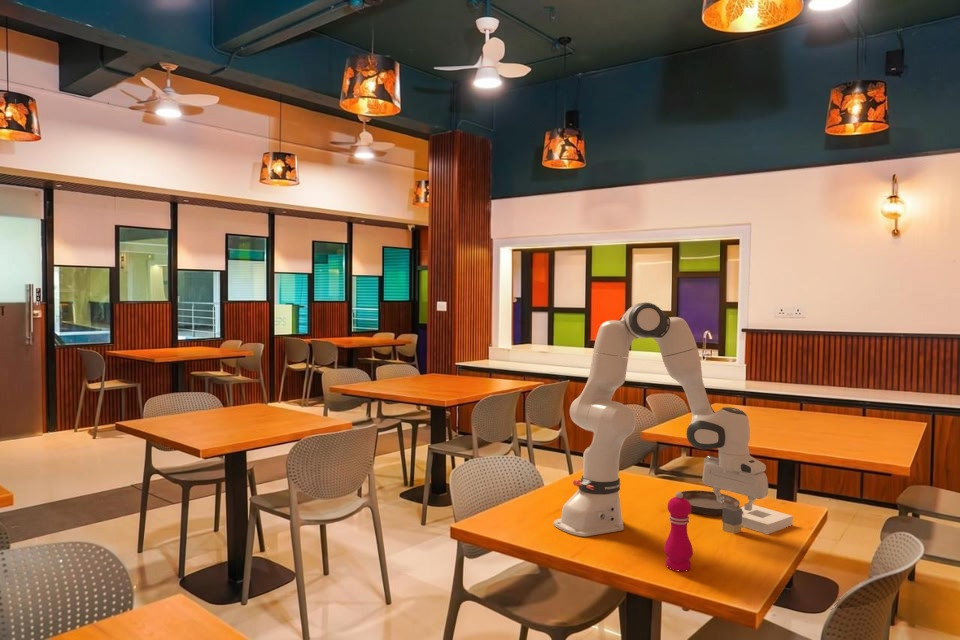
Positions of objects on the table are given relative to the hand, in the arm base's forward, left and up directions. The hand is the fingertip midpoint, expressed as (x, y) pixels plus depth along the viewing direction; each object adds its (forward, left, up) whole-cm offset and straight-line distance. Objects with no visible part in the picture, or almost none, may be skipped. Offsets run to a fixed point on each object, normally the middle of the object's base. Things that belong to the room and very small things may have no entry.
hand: (733, 505), depth 198 cm
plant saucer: (+12, +18, -8) cm, 23 cm away
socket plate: (+12, -1, -7) cm, 14 cm away
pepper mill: (-37, -8, -8) cm, 39 cm away
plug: (-1, 0, -7) cm, 7 cm away
